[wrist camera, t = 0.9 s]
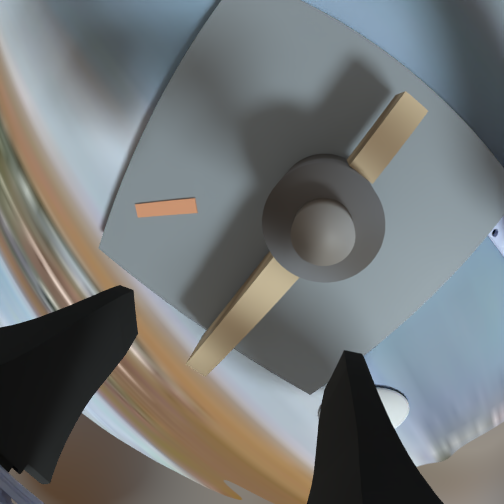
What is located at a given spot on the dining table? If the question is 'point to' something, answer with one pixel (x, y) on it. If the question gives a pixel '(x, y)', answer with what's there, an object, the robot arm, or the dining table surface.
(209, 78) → the grey flat slab
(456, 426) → the dining table surface
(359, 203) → the curved bar with hub
